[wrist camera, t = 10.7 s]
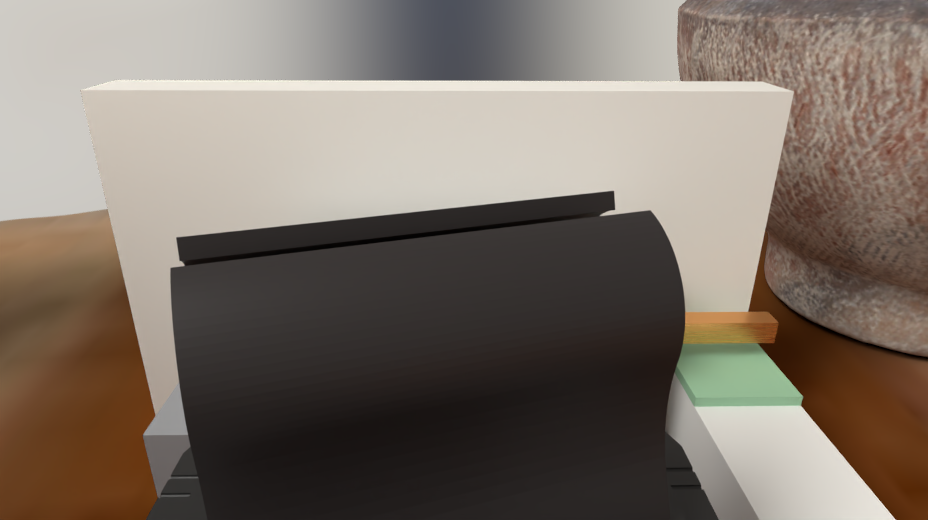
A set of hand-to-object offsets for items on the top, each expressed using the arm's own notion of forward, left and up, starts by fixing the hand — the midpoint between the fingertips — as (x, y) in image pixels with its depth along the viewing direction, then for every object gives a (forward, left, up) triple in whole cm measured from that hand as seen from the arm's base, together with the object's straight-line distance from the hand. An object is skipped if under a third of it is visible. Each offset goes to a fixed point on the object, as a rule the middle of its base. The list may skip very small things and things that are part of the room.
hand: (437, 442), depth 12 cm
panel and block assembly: (0, +5, -7) cm, 9 cm away
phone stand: (0, -2, -7) cm, 7 cm away
